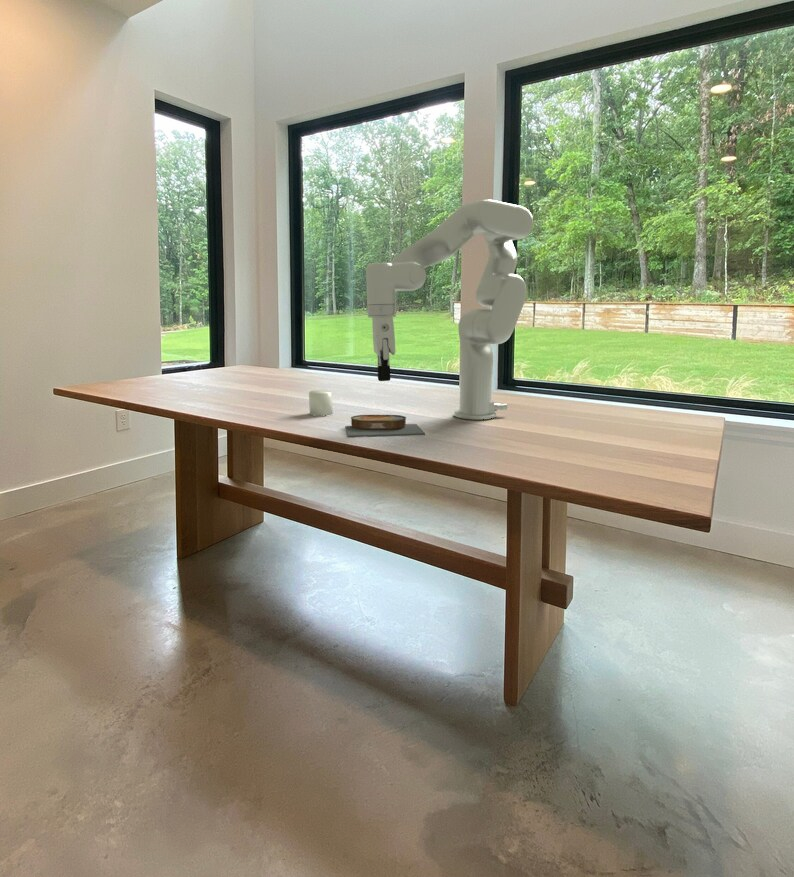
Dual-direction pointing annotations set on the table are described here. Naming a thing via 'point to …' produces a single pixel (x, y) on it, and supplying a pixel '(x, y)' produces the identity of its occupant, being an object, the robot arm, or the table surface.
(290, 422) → the table surface
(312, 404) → the white rounded cube
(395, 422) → the tin
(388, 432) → the mat
